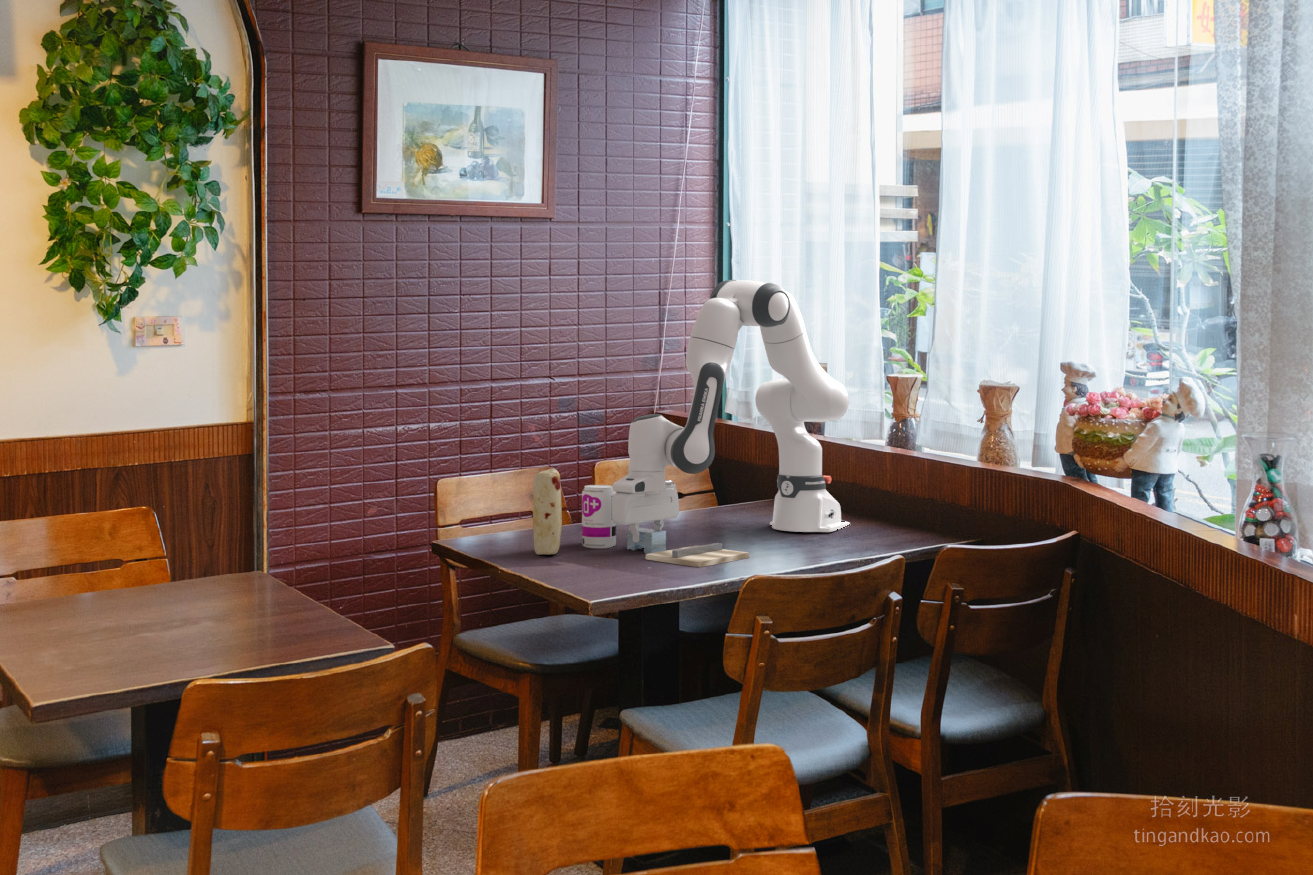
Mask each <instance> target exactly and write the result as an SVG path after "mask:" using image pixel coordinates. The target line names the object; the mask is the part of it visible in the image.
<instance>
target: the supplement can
mask: <svg viewBox="0 0 1313 875" xmlns="http://www.w3.org/2000/svg"><path fill="white" fill-rule="evenodd" d="M615 493H616V492H615V491H613V485H610V484H609V485H608V484H589V485H584V488H583V489H582V491H581V514H582V515H581V545H582V546H583V547H585V548H589V549H609V548H613V546H614V547H615V546H616V545H617V524H615V523H614V521H613V519H612V500H613V496H614V494H615Z"/></svg>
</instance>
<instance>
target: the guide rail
mask: <svg viewBox="0 0 1313 875" xmlns="http://www.w3.org/2000/svg"><path fill="white" fill-rule="evenodd" d="M695 546H696V547H691V546H689V547H690V548H685V547H683V548H684V549H679V548H677V549H678V550H673V549H671V550H672V557H675V558H680V557H685V556H691V555H696V554H702V553H708V552H713V551H719V550H722V549H723V543H721V542H714V543H713V542H712V543H709V544H702V545H695Z"/></svg>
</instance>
